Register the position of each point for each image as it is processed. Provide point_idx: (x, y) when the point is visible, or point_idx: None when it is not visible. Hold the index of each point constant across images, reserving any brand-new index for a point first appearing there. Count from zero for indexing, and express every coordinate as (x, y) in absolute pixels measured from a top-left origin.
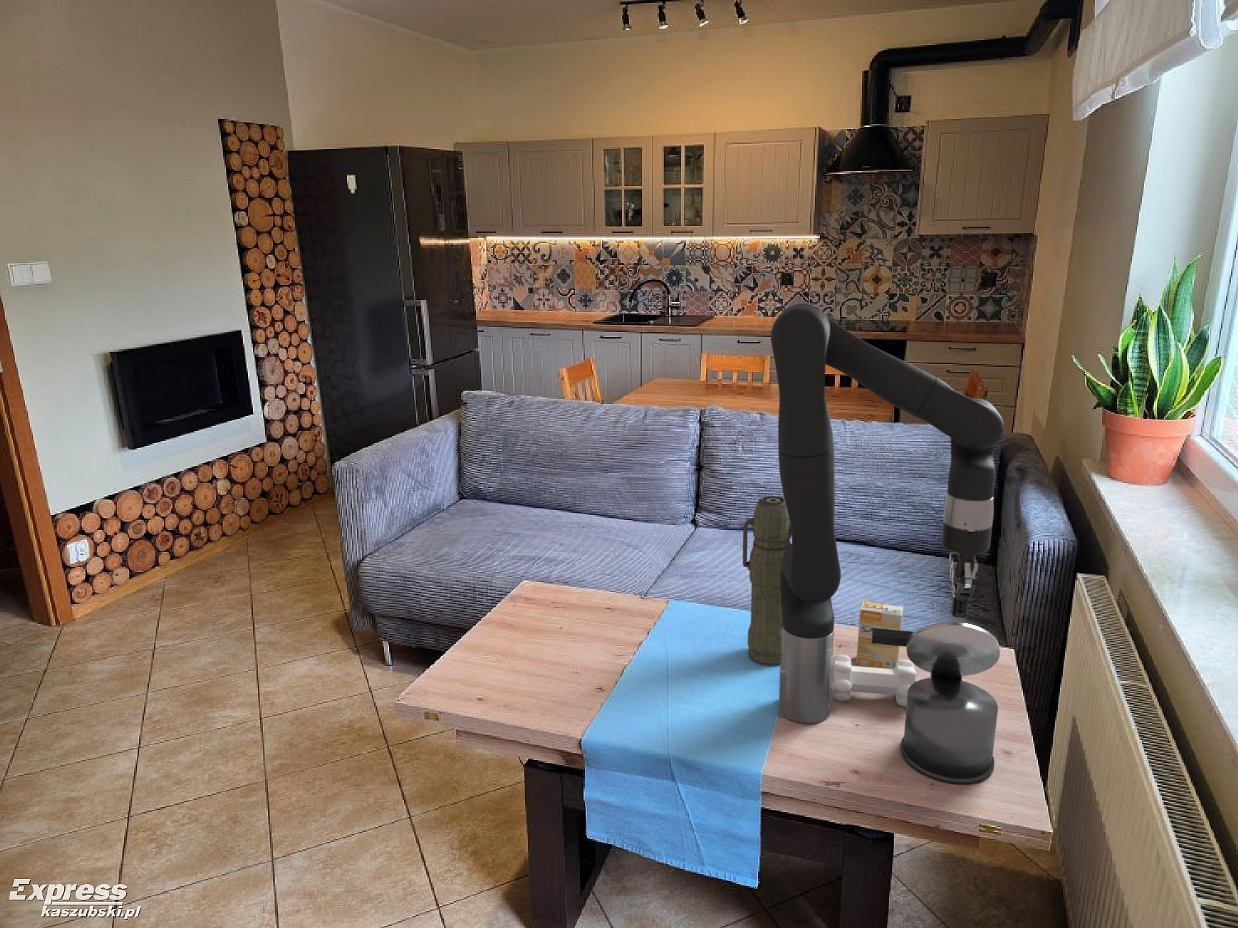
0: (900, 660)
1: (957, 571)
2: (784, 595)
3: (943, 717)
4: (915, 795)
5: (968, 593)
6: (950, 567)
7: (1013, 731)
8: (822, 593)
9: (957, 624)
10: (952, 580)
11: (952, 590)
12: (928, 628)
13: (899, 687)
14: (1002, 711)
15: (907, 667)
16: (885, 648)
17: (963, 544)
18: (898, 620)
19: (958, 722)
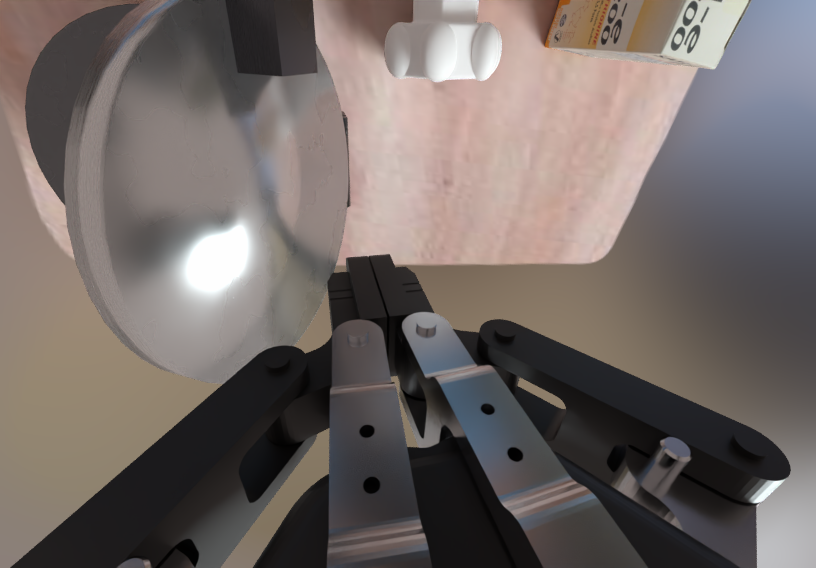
0: (490, 36)
1: (326, 562)
2: None
3: (48, 123)
4: (5, 23)
5: (281, 441)
6: (536, 436)
7: (357, 255)
8: None
9: (111, 296)
10: (334, 419)
11: (417, 324)
12: (95, 107)
13: (403, 26)
14: (416, 245)
15: (464, 57)
16: (592, 7)
17: None
18: (649, 42)
19: (45, 168)
